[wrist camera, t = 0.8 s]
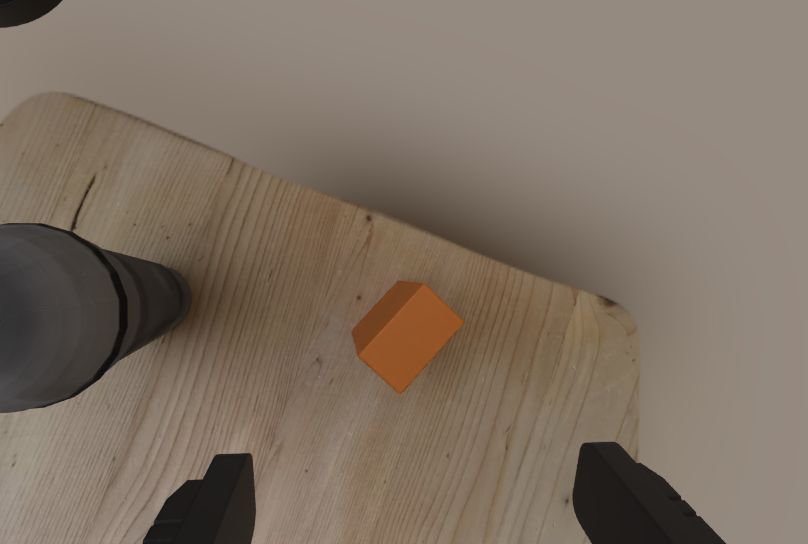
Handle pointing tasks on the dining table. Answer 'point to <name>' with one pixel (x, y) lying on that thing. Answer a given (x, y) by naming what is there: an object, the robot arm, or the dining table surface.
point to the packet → (404, 333)
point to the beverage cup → (74, 312)
